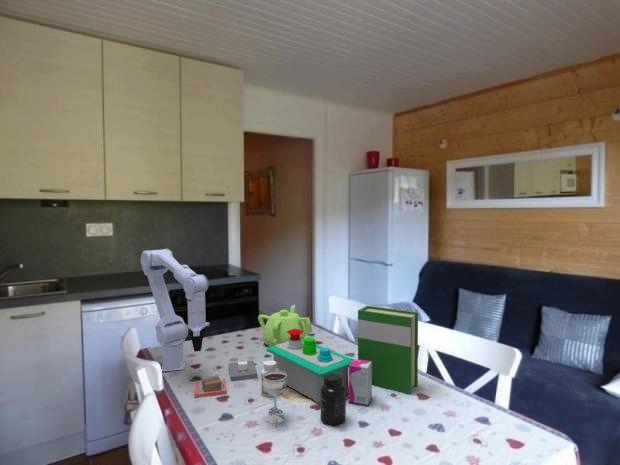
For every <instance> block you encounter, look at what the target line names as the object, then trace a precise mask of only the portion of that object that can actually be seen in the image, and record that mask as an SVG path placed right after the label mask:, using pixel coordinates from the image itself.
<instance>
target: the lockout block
mask: <svg viewBox="0 0 620 465" xmlns="http://www.w3.org/2000/svg"><path fill="white" fill-rule="evenodd" d="M201 380H202V381H201V382H202V383H201V384H202V390H203V392H211V391H219V390H223V387H222V386H223V385H222V384H223V380H221V378H220V376H219V375H212V376H207V377H202V378H201Z"/></svg>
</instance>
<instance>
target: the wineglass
mask: <svg viewBox="0 0 620 465" xmlns="http://www.w3.org/2000/svg"><path fill="white" fill-rule="evenodd" d="M286 377H287V374H286V373H285V372H283V371H276V370H275V371H269V372H266V373H264V374H263V379H264V380H263V383H262V382H261V385H262V384H263V388H264V390H265V391H266V392H267V393H268V394H270V395H272V397H273V408H274V409H273V410H274V413H271V414H268V415H267V416H266V418H265V420H266V421H267V422H268V423H271V424H280V423H282V422H284V420H285V416H284V415H283V414H281V413H277V397H278V396H279V395H281V394H282V393H283V392H284V391H285V390H286V388H287V387H288V386H287V379H286Z"/></svg>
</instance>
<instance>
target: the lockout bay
mask: <svg viewBox="0 0 620 465" xmlns="http://www.w3.org/2000/svg"><path fill="white" fill-rule="evenodd" d="M194 384H195V385H194V399H197V398H198V399H199V398H205V397H211V396H220V395H227V394H228V392H227V383H226V378H222V384H223V385H222V386H223V387H222V390H219V391H211V392H204V391H203V392H198V390H199V382H198V381H195V383H194Z"/></svg>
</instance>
